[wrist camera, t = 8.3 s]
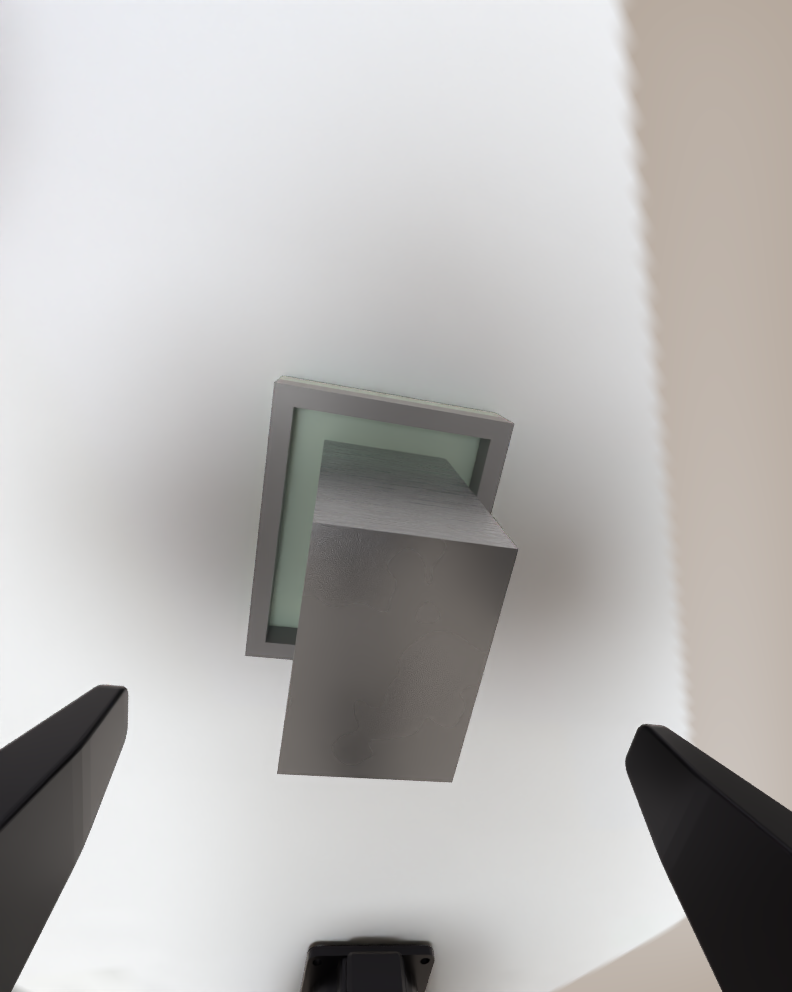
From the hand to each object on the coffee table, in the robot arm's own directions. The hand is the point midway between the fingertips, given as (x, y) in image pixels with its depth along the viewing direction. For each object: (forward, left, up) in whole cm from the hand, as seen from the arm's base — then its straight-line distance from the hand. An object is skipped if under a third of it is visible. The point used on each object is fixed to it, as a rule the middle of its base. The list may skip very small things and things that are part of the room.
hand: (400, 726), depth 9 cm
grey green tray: (0, 0, -10) cm, 10 cm away
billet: (0, 0, -9) cm, 9 cm away
